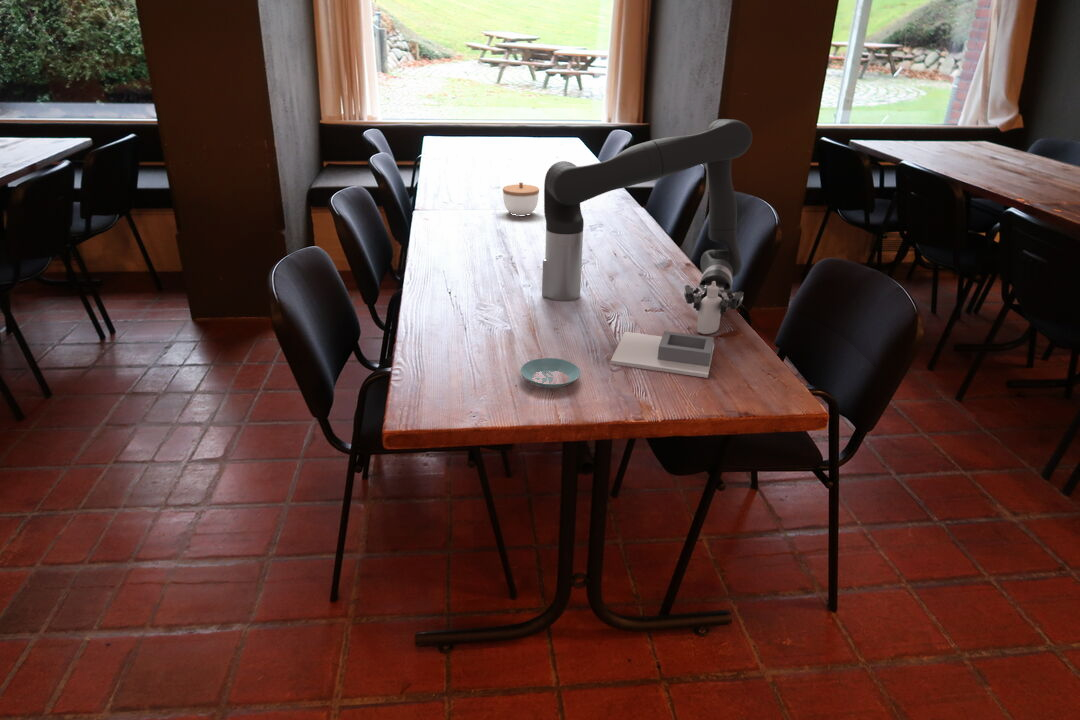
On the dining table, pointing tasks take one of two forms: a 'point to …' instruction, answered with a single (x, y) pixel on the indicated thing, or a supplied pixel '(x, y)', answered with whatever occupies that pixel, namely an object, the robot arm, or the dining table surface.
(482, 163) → the dining table surface
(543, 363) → the saucer
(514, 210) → the lidded bowl
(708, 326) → the eye dropper bottle
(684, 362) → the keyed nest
